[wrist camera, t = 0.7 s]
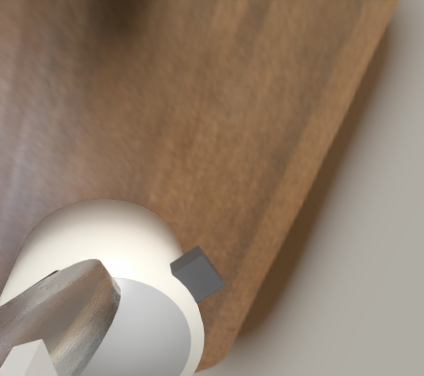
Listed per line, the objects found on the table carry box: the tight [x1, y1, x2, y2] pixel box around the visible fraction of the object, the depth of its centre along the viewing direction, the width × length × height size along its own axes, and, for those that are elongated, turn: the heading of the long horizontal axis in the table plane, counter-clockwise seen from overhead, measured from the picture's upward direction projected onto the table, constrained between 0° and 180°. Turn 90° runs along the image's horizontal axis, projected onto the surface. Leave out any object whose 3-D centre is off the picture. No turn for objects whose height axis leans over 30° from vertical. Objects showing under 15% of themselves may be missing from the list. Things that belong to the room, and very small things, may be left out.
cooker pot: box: [0, 199, 225, 376], centre depth 38 cm, size 18×24×12 cm
